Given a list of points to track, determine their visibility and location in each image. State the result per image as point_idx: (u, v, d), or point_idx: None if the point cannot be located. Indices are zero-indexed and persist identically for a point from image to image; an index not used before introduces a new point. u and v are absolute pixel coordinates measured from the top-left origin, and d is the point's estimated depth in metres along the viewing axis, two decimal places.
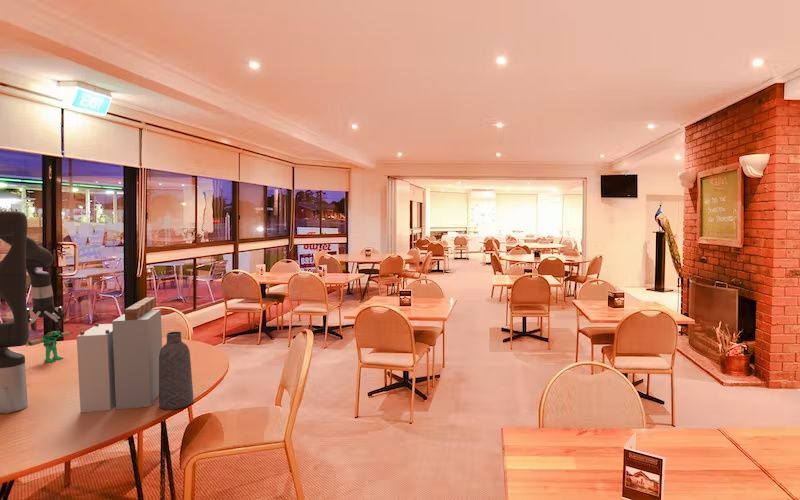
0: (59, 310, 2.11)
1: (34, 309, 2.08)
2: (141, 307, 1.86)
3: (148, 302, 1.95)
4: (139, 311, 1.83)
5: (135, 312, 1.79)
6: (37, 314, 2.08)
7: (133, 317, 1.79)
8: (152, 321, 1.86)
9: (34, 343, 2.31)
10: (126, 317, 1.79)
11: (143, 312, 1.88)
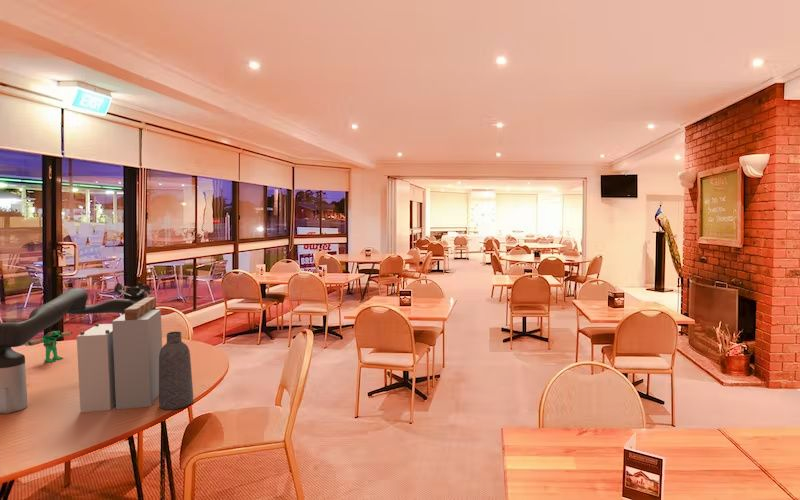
0: None
1: None
2: (141, 307, 1.86)
3: (148, 302, 1.95)
4: (139, 311, 1.83)
5: (135, 312, 1.79)
6: (129, 287, 2.18)
7: (133, 317, 1.79)
8: (152, 321, 1.86)
9: (34, 343, 2.31)
10: (126, 317, 1.79)
11: (143, 312, 1.88)
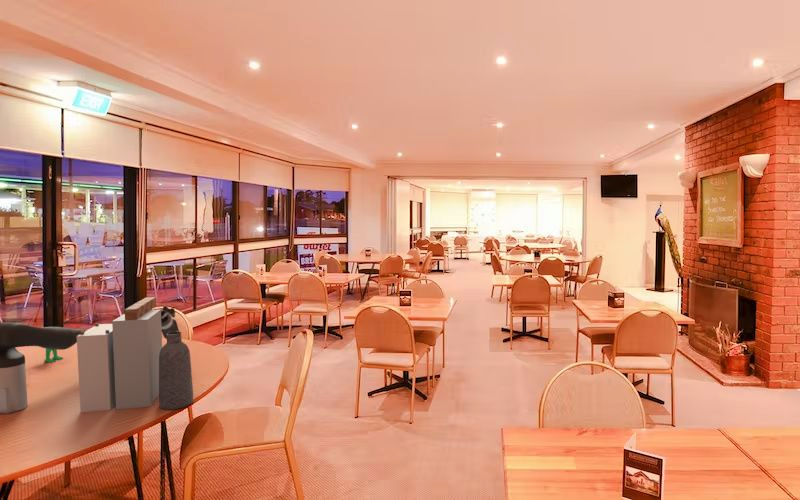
0: None
1: None
2: (141, 307, 1.86)
3: (148, 302, 1.95)
4: (139, 311, 1.83)
5: (135, 312, 1.79)
6: None
7: (133, 317, 1.79)
8: (152, 321, 1.86)
9: None
10: (126, 317, 1.79)
11: (143, 312, 1.88)
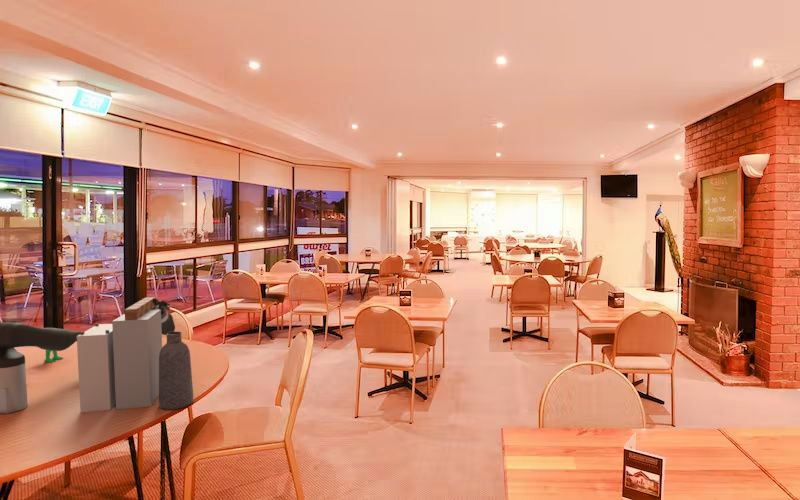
0: None
1: None
2: (141, 307, 1.86)
3: (148, 302, 1.95)
4: (139, 311, 1.83)
5: (135, 312, 1.79)
6: None
7: (132, 317, 1.79)
8: (152, 321, 1.86)
9: None
10: (126, 317, 1.79)
11: (143, 312, 1.88)
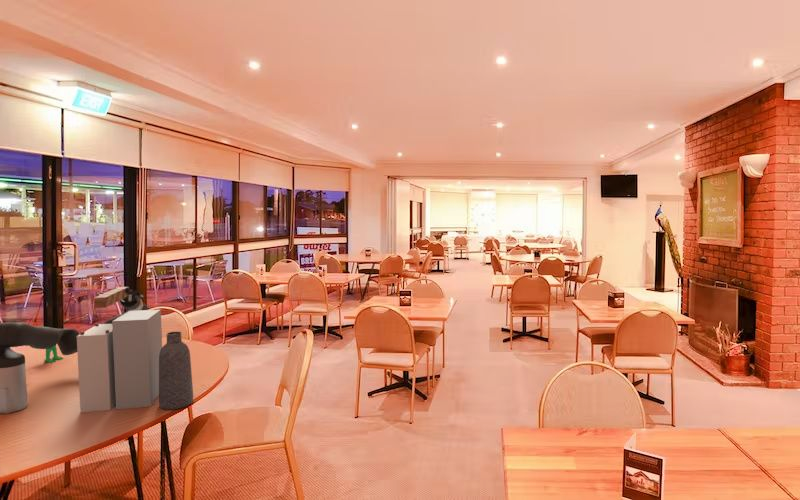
0: None
1: None
2: (111, 296, 1.91)
3: (119, 291, 2.00)
4: (109, 299, 1.88)
5: (104, 301, 1.84)
6: None
7: (102, 305, 1.84)
8: (152, 321, 1.86)
9: None
10: (95, 305, 1.84)
11: (113, 301, 1.93)
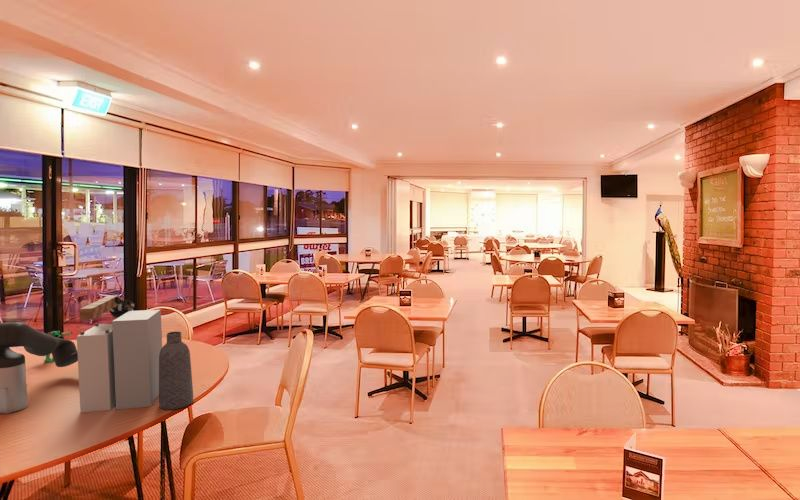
0: None
1: None
2: (99, 306, 1.77)
3: (108, 301, 1.87)
4: (96, 310, 1.75)
5: (91, 312, 1.71)
6: None
7: (88, 316, 1.71)
8: (152, 321, 1.86)
9: None
10: (81, 317, 1.70)
11: (101, 311, 1.80)
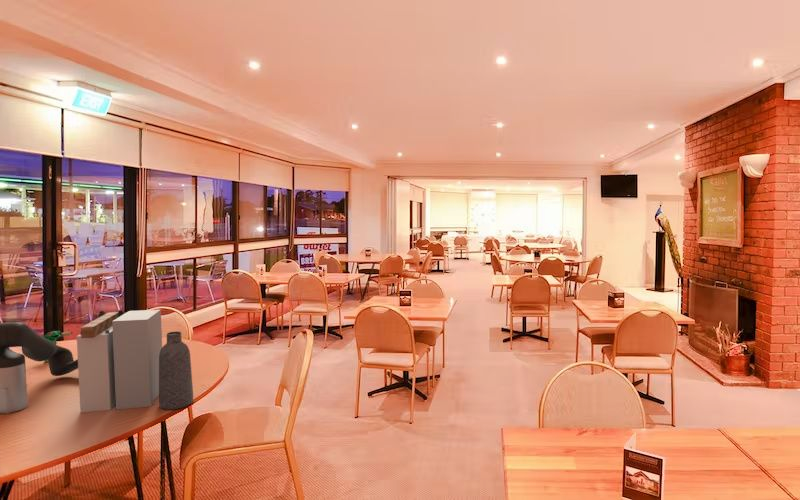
0: None
1: None
2: (100, 324, 1.78)
3: (109, 318, 1.88)
4: (97, 328, 1.76)
5: (92, 330, 1.72)
6: None
7: (89, 335, 1.72)
8: (152, 321, 1.86)
9: None
10: (82, 335, 1.71)
11: (102, 329, 1.81)
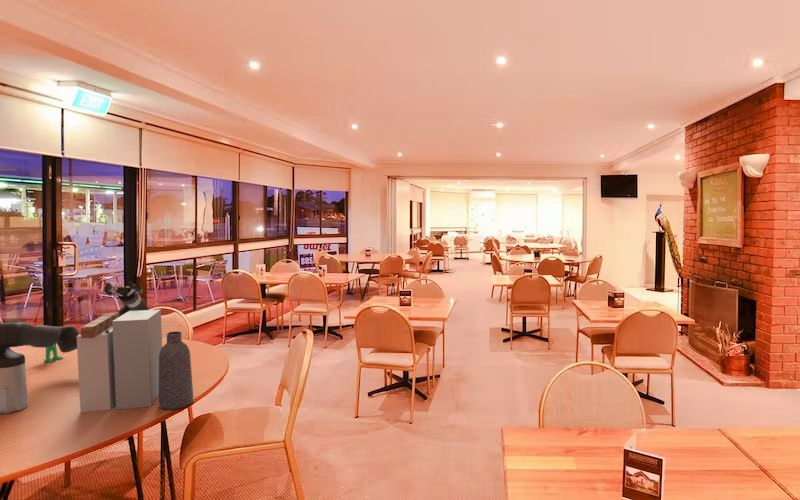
0: None
1: None
2: (100, 324, 1.78)
3: (109, 318, 1.88)
4: (97, 328, 1.76)
5: (92, 330, 1.72)
6: None
7: (89, 335, 1.72)
8: (152, 321, 1.86)
9: None
10: (82, 335, 1.71)
11: (102, 329, 1.81)
